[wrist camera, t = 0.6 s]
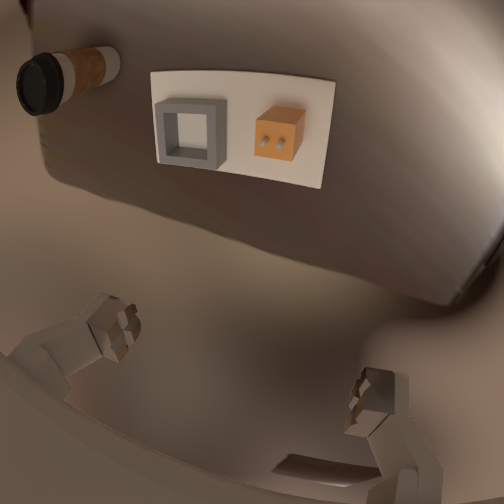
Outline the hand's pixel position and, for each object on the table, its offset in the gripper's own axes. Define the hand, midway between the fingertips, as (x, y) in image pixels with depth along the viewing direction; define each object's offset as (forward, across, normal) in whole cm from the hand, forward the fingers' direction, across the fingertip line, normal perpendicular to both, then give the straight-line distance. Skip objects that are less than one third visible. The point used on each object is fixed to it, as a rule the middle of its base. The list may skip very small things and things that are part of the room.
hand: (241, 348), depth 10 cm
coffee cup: (+31, +33, -10) cm, 46 cm away
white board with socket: (+32, +12, 0) cm, 34 cm away
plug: (+31, +5, -1) cm, 31 cm away
